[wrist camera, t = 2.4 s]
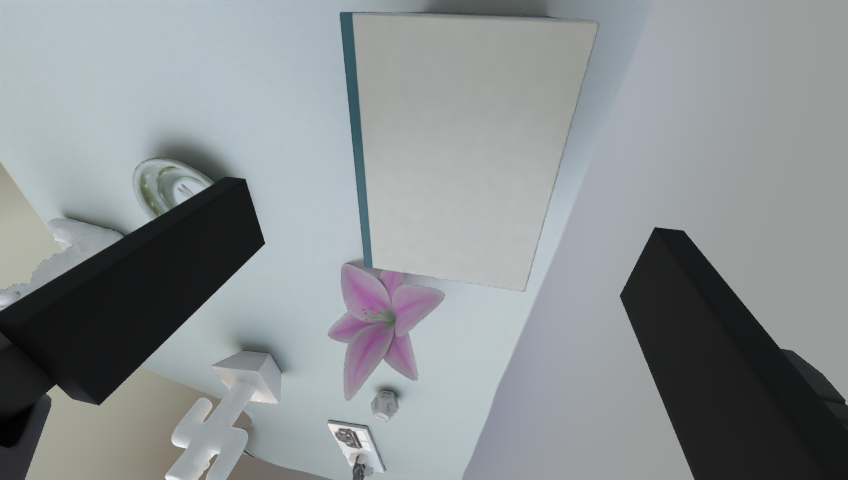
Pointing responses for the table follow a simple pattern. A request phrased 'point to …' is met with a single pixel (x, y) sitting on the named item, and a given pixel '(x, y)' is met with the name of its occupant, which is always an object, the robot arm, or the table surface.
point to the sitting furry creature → (63, 255)
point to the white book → (459, 137)
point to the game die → (384, 405)
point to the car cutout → (357, 448)
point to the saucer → (166, 184)
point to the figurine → (224, 417)
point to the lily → (379, 323)
